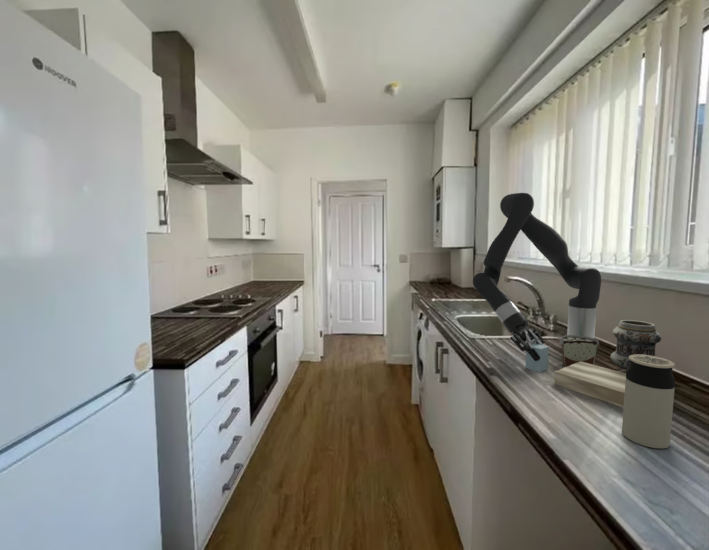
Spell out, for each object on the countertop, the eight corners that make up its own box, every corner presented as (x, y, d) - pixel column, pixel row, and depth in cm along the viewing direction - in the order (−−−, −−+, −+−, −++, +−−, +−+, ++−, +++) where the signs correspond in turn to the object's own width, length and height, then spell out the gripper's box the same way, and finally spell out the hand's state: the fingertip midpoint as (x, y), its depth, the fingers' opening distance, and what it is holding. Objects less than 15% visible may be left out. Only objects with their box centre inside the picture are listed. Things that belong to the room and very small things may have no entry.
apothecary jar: (650, 373, 110) (654, 320, 108) (665, 388, 99) (670, 328, 97) (605, 368, 115) (608, 316, 113) (615, 381, 104) (619, 324, 102)
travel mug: (674, 454, 68) (681, 369, 67) (624, 442, 73) (630, 362, 71) (664, 435, 75) (671, 357, 73) (619, 425, 79) (624, 351, 78)
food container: (587, 361, 121) (589, 334, 120) (597, 368, 115) (599, 339, 114) (551, 360, 123) (553, 334, 122) (560, 367, 117) (561, 339, 116)
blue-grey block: (533, 364, 119) (534, 342, 118) (548, 369, 114) (549, 346, 114) (525, 367, 116) (526, 345, 115) (539, 372, 112) (540, 349, 111)
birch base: (579, 373, 111) (580, 361, 111) (648, 393, 96) (650, 379, 96) (554, 384, 103) (554, 371, 102) (625, 408, 87) (626, 393, 87)
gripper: (506, 313, 116) (539, 357, 107) (529, 308, 124) (562, 349, 115) (492, 325, 121) (522, 367, 112) (515, 320, 129) (546, 359, 120)
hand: (542, 358), depth 113 cm, fingers closed on blue-grey block, 5 cm apart
